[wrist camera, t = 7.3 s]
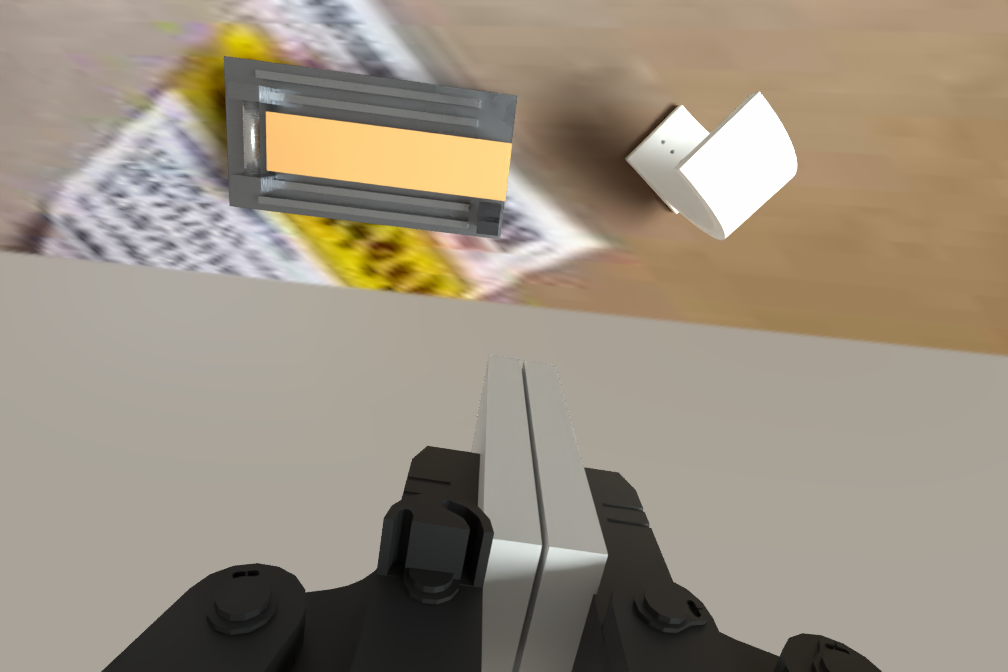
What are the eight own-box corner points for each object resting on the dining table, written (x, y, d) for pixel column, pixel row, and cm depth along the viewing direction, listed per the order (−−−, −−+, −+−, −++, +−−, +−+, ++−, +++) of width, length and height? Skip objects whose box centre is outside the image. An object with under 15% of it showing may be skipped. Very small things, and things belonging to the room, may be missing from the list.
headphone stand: (678, 105, 36) (760, 90, 25) (736, 173, 37) (838, 189, 26) (624, 158, 37) (678, 168, 26) (682, 223, 39) (758, 259, 27)
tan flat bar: (274, 169, 31) (266, 170, 30) (273, 112, 30) (265, 111, 29) (505, 199, 32) (505, 201, 31) (512, 143, 31) (512, 143, 30)
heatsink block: (263, 197, 38) (207, 211, 31) (261, 66, 35) (199, 49, 28) (500, 226, 38) (500, 247, 31) (515, 100, 36) (518, 92, 29)
